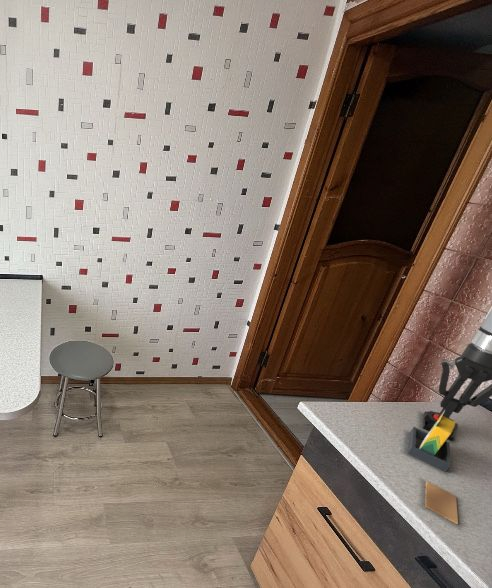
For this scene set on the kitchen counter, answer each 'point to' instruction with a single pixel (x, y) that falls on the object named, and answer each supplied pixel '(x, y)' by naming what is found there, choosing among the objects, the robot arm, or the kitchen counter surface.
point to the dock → (426, 457)
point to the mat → (441, 502)
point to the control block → (430, 422)
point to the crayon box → (437, 435)
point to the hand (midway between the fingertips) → (442, 417)
